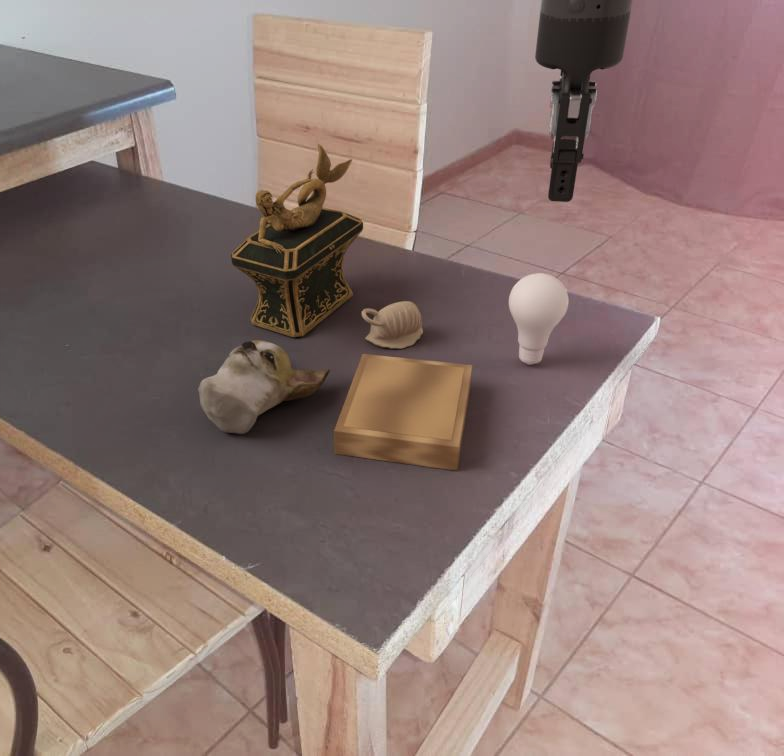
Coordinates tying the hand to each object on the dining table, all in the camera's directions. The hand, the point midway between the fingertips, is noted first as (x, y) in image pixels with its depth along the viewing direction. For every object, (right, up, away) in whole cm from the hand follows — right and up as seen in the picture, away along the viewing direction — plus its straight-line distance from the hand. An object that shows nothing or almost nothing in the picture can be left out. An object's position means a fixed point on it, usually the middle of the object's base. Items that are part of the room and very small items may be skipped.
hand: (560, 183), depth 77 cm
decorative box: (-24, -10, +25) cm, 36 cm away
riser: (-15, -24, +4) cm, 28 cm away
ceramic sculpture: (-30, -23, +7) cm, 39 cm away
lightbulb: (0, -18, +11) cm, 21 cm away
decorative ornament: (-14, -15, +17) cm, 27 cm away
